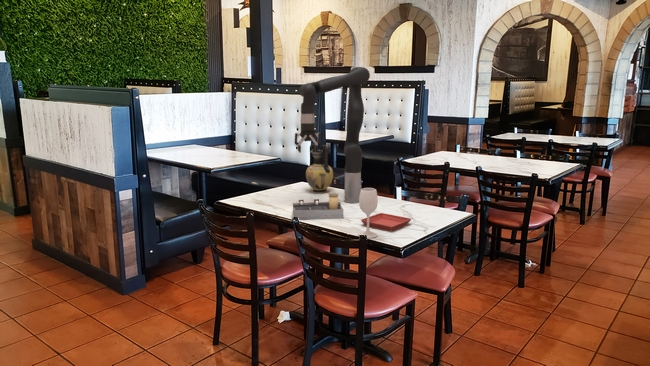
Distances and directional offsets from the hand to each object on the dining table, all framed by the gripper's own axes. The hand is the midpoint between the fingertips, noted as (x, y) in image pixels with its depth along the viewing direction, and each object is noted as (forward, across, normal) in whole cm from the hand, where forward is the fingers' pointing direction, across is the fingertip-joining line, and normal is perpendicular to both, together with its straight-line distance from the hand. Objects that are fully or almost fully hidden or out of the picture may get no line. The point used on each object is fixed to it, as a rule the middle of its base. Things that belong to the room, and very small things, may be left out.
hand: (307, 152), depth 271 cm
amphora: (+30, +10, +36) cm, 48 cm away
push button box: (+30, +3, -20) cm, 37 cm away
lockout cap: (+29, +11, -22) cm, 38 cm away
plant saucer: (+31, +34, -41) cm, 61 cm away
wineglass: (+30, +22, -56) cm, 67 cm away
